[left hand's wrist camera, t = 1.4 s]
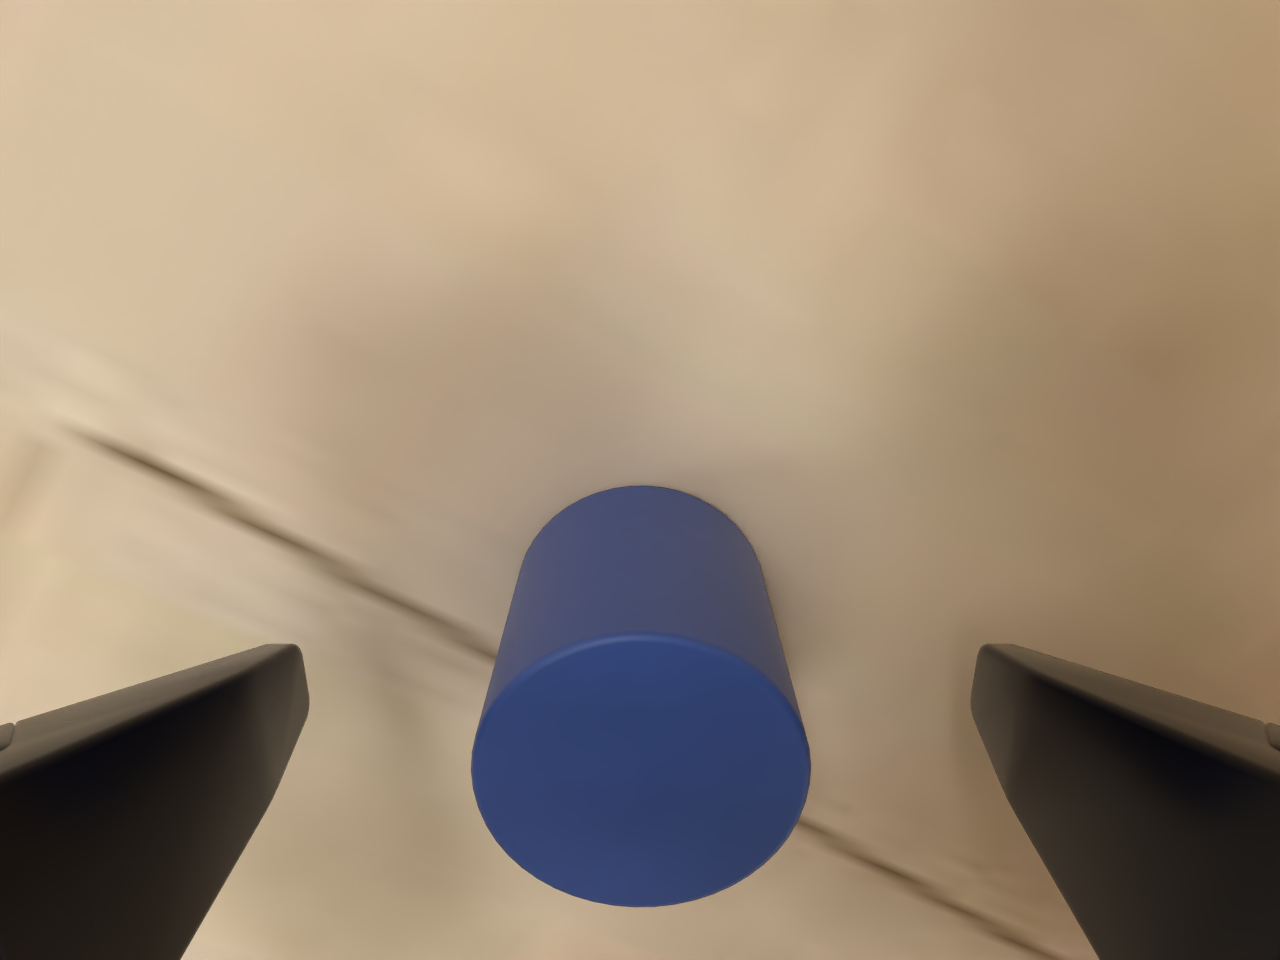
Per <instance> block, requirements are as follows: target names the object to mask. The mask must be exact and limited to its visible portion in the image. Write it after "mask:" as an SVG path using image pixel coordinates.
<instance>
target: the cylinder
mask: <svg viewBox="0 0 1280 960" xmlns="http://www.w3.org/2000/svg"><path fill="white" fill-rule="evenodd" d="M810 772H811V761H810V751H809V745H808V741H807V737H806V734H805V730H804V726H803V722H802V719H801V715H800V711H799V708H798V704H797V700H796V697H795V693H794V689H793V686H792V682H791V678H790V675H789V671H788V667H787V664H786V660H785V656H784V652H783V649H782V645H781V641H780V638H779V634H778V630H777V627H776V623H775V619H774V616H773V612H772V608H771V605H770V601H769V597H768V594H767V590H766V586H765V583H764V579H763V575H762V572H761V568H760V564H759V561H758V559H757V557H756V554H755V552H754V550H753V548H752V546H751V545H750V543H749V542H748V540H747V538H746V537H745V535H744V534H743V533H742V532H741V531H740V529H739V528H738V527H737V526H736V525H735V524H734V523H733V522H732V521H731V520H730V519H729V518H728V517H727V516H725V515H724V514H723V513H722V512H720V511H719V510H717V509H716V508H714V507H713V506H712V505H710V504H708V503H706V502H704V501H702V500H700V499H698V498H696V497H694V496H691V495H688V494H686V493H683V492H680V491H676V490H671V489H667V488H661V487H652V486H628V487H621V488H614V489H610V490H606V491H602V492H598V493H595V494H593V495H590V496H588V497H586V498H583V499H581V500H579V501H577V502H575V503H574V504H572V505H570V506H568V507H567V508H565V509H564V510H563V511H561V512H560V513H559V514H557V515H556V516H555V517H554V518H553V519H552V520H551V521H549V522H548V523H547V524H546V525H545V526H544V527H543V529H542V530H541V531H540V532H539V534H538V535H537V536H536V538H535V539H534V540H533V542H532V544H531V546H530V547H529V549H528V551H527V553H526V555H525V558H524V560H523V563H522V566H521V569H520V573H519V576H518V580H517V584H516V587H515V591H514V595H513V599H512V602H511V606H510V610H509V613H508V617H507V621H506V625H505V628H504V632H503V636H502V639H501V643H500V647H499V651H498V654H497V658H496V662H495V665H494V669H493V673H492V677H491V680H490V684H489V688H488V691H487V695H486V699H485V703H484V706H483V710H482V714H481V717H480V721H479V725H478V729H477V732H476V736H475V741H474V745H473V750H472V762H471V775H472V784H473V790H474V794H475V797H476V801H477V805H478V808H479V810H480V812H481V815H482V817H483V819H484V821H485V824H486V826H487V827H488V829H489V831H490V832H491V834H492V835H493V837H494V838H495V840H496V841H497V843H498V844H499V845H500V846H501V847H502V848H503V850H504V851H505V852H506V853H507V854H508V855H509V856H510V857H511V858H512V859H513V860H514V861H515V862H516V863H517V864H518V865H520V866H521V867H522V868H523V869H525V870H526V871H527V872H529V873H530V874H532V875H533V876H534V877H536V878H537V879H539V880H541V881H543V882H544V883H546V884H548V885H550V886H552V887H554V888H555V889H558V890H560V891H563V892H565V893H568V894H570V895H572V896H575V897H579V898H582V899H586V900H589V901H592V902H597V903H603V904H608V905H614V906H626V907H657V906H666V905H675V904H679V903H684V902H689V901H693V900H697V899H700V898H703V897H706V896H709V895H712V894H715V893H717V892H719V891H721V890H724V889H726V888H728V887H730V886H732V885H734V884H736V883H737V882H739V881H741V880H743V879H744V878H746V877H748V876H749V875H751V874H752V873H753V872H754V871H756V870H757V869H758V868H760V867H761V866H762V865H764V864H765V863H766V862H767V861H768V860H769V859H770V858H771V857H772V856H773V855H774V854H775V853H776V852H777V851H778V850H779V849H780V847H781V846H782V845H783V843H784V842H785V841H786V840H787V838H788V837H789V835H790V834H791V832H792V830H793V829H794V827H795V825H796V823H797V822H798V819H799V817H800V814H801V812H802V809H803V807H804V804H805V802H806V798H807V793H808V789H809V785H810Z"/></svg>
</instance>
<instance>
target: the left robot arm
mask: <svg viewBox="0 0 1280 960" xmlns="http://www.w3.org/2000/svg"><path fill="white" fill-rule="evenodd" d="M308 711H309V693H308V687H307V680H306V674H305V668H304V662H303V656H302V653H301V650H300V648H299V647H298V646H297V645H295V644H266V645H263V646H259V647H256V648H253V649H250V650H247V651H243V652H240V653H237V654H234V655H230V656H227V657H224V658H221V659H218V660H214V661H211V662H208V663H205V664H201V665H198V666H195V667H192V668H188V669H185V670H182V671H179V672H176V673H172V674H169V675H166V676H163V677H159V678H156V679H153V680H150V681H147V682H143V683H140V684H137V685H134V686H130V687H127V688H124V689H121V690H117V691H114V692H111V693H108V694H105V695H101V696H98V697H95V698H92V699H88V700H85V701H82V702H79V703H76V704H72V705H69V706H66V707H63V708H59V709H56V710H53V711H50V712H46V713H43V714H40V715H37V716H34V717H30V718H27V719H24V720H21V721H18V722H17V723H16V725H15V726H14V724H13V723H7V724H4V725H1V726H0V960H180V959H181V957H182V956H183V954H184V952H185V951H186V949H187V947H188V945H189V944H190V942H191V940H192V938H193V937H194V935H195V933H196V932H197V930H198V928H199V926H200V925H201V923H202V921H203V919H204V918H205V916H206V914H207V912H208V911H209V909H210V907H211V906H212V904H213V902H214V900H215V899H216V897H217V895H218V893H219V892H220V890H221V888H222V886H223V885H224V883H225V881H226V880H227V878H228V876H229V874H230V873H231V871H232V869H233V867H234V866H235V864H236V862H237V860H238V859H239V857H240V855H241V854H242V852H243V850H244V848H245V847H246V845H247V843H248V841H249V840H250V838H251V836H252V835H253V833H254V831H255V829H256V828H257V826H258V824H259V822H260V821H261V819H262V817H263V815H264V814H265V812H266V810H267V808H268V806H269V804H270V803H271V801H272V799H273V797H274V794H275V792H276V790H277V788H278V786H279V783H280V781H281V779H282V776H283V774H284V771H285V769H286V767H287V764H288V762H289V759H290V757H291V755H292V752H293V750H294V747H295V745H296V743H297V740H298V738H299V735H300V733H301V731H302V728H303V726H304V723H305V721H306V718H307V715H308ZM971 711H972V715H973V718H974V721H975V723H976V726H977V728H978V731H979V733H980V735H981V738H982V740H983V743H984V745H985V747H986V750H987V752H988V755H989V757H990V759H991V762H992V764H993V767H994V769H995V771H996V774H997V776H998V779H999V781H1000V783H1001V786H1002V788H1003V790H1004V792H1005V794H1006V797H1007V799H1008V801H1009V803H1010V804H1011V806H1012V808H1013V810H1014V812H1015V814H1016V815H1017V817H1018V819H1019V821H1020V822H1021V824H1022V826H1023V828H1024V829H1025V831H1026V833H1027V835H1028V836H1029V838H1030V840H1031V841H1032V843H1033V845H1034V847H1035V848H1036V850H1037V852H1038V854H1039V855H1040V857H1041V859H1042V860H1043V862H1044V864H1045V866H1046V867H1047V869H1048V871H1049V873H1050V874H1051V876H1052V878H1053V880H1054V881H1055V883H1056V885H1057V886H1058V888H1059V890H1060V892H1061V893H1062V895H1063V897H1064V899H1065V900H1066V902H1067V904H1068V906H1069V907H1070V909H1071V911H1072V912H1073V914H1074V916H1075V918H1076V919H1077V921H1078V923H1079V925H1080V926H1081V928H1082V930H1083V932H1084V933H1085V935H1086V937H1087V938H1088V940H1089V942H1090V944H1091V945H1092V947H1093V949H1094V951H1095V952H1096V954H1097V956H1098V957H1099V959H1100V960H1280V726H1279V725H1276V724H1273V723H1267V724H1266V726H1265V725H1264V723H1263V722H1262V721H1259V720H1256V719H1253V718H1250V717H1246V716H1243V715H1240V714H1237V713H1234V712H1230V711H1227V710H1224V709H1221V708H1217V707H1214V706H1211V705H1208V704H1204V703H1201V702H1198V701H1195V700H1192V699H1188V698H1185V697H1182V696H1179V695H1175V694H1172V693H1169V692H1166V691H1163V690H1159V689H1156V688H1153V687H1150V686H1146V685H1143V684H1140V683H1137V682H1133V681H1130V680H1127V679H1124V678H1121V677H1117V676H1114V675H1111V674H1108V673H1104V672H1101V671H1098V670H1095V669H1092V668H1088V667H1085V666H1082V665H1079V664H1075V663H1072V662H1069V661H1066V660H1062V659H1059V658H1056V657H1053V656H1050V655H1046V654H1043V653H1040V652H1037V651H1033V650H1030V649H1027V648H1024V647H1021V646H1017V645H1014V644H985V645H983V646H982V647H981V648H980V650H979V653H978V656H977V662H976V668H975V674H974V680H973V687H972V693H971Z"/></svg>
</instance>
